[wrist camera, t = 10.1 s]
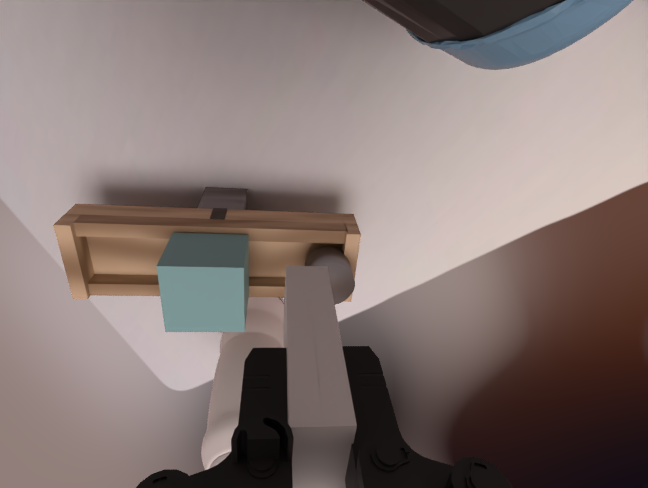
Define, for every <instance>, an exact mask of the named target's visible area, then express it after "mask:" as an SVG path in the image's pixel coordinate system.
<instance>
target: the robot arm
mask: <svg viewBox="0 0 648 488" xmlns="http://www.w3.org/2000/svg"><path fill="white" fill-rule="evenodd" d="M363 1H364V2H366V3H367V4H369V5H370V6H372V7H373V8H375V9H377V10H378V11H380V12H381V13H383V14H384V15H386V16H387V17H389V18H391V19H392V20H394V21H395V22H397V23H398V24H400V25H401V26H403V27H405V28H406V30H407V31H408V33H409V34H410V35H411V36H412V37H413V38H414V39H416V40H417V41H418V42H420V43H421V44H423V45H424V44H426V45H428V46H430V47H431V48H436V49H441V50H443V51H445V52H447V53H448V54H450V55H452V56H454V57H455V58H457V59H459V60H461V61H462V62H464V63H466V64H468V65H471V66H474V67H477V68H482V69H490V70H499V69H509V68H514V67H519V66H522V65H526V64H529V63H532V62H535V61H538V60H540V59H543V58H545V57H548V56H550V55H552V54H554V53H556V52H558V51H560V50H562V49H564V48H566V47H568V46H570V45H571V44H573V43H575V42H577V41H578V40H580V39H582V38H583V37H585V36H587V35H588V34H590V33H591V32H593V31H594V30H596V29H597V28H599V27H600V26H601V25H603V24H604V23H606V22H607V21H608V20H610V19H611V18H612V17H614V16H615V15H616V14H618V13H619V12H620V11H621V10H623V9H624V8H625V7H626V6H627V5H629V4H630V3H631V2H632V1H633V0H363ZM345 486H346V488H513V487H512V485H511V484H510V483H509V481H508V480H507V479H506V477H505V476H504V475H503V474H502V473H501V472H500V471H499V470H498V468H496V467H495V466H494V465H492V464H491V463H489V462H487V461H486V460H483V459H480V458H476V457H465V458H462V459H460V460H459V461H457V462H456V463H455V465H454V466H451V465H448V464H444V463H440V462H437V461H434V460H430V459H428V458H425V457H422V456H421V455H419V454H418V453H416V452H414V451H413V450H412V449H411V448H410V446H408V445H407V444H406V442H405V441H404V439H403V438H402V436H401V434H400V431H399V428H398V425H397V421H396V417H395V414H394V410H393V407H392V403H391V400H390V397H389V393H388V389H387V388H386V382H385V379H384V376H383V372H382V368H381V365H380V361H379V358H378V357H377V356H376V355H375V353H374V352H373V351H372V350H371V348H370V347H369V346H360V347H359V346H348V347H347V346H344V347H343V346H342V343H341V337H340V332H339V327H338V321H337V316H336V310H335V305H334V299H333V294H332V289H331V283H330V278H329V272H328V267H326V266H286V276H285V297H284V319H283V348H253V349H252V350H251V352H250V353H249V355H248V356H247V358H246V359H245V363H244V372H243V382H242V392H241V402H240V412H239V421H238V426H237V427H236V428H235V430H234V433H233V436H232V439H231V452H230V454H229V455H228V456H227V457H226V458H225V459H224V460H223V461H222V462H220V463H219V464H218V465H216V466H214V467H212V468H210V469H207V470H205V471H202V472H199V473H196V474H194V475H191V476H188V474H186V473H183V472H181V471H179V470H162V471H159V472H157V473H154V474H152V475H150V476H149V477H147V478H146V479H145V480H143V481H142V482H140V484H139V485H138V486H137V487H136V488H345Z"/></svg>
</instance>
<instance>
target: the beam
mask: <svg viewBox="0 0 648 488" xmlns="http://www.w3.org/2000/svg"><path fill="white" fill-rule="evenodd" d="M53 226H54V230H55V233H56V237H57V241H58V245H59V248H60V252H61V256H62V259H63V263H64V267H65V271H66V274H67V278H68V282H69V285H70V289H71V293H72V297H73V299H88V298H89V297H90V295H109V296H160V289H159V281H158V274H157V267H156V266H157V264H158V262H159V260H160V258H161V256H162V254H163V252H164V250H165V247H166V245H167V243H168V241H169V239H170V237H171V235H172V233H205V234H238V235H249V297H285V276H286V266H326V267H328V272H329V278H330V283H331V289H332V294H333V299H334V305H335V304H339V303H341V302H343V301H346V302H351V299H352V292H353V290H354V287H355V281H354V278H355V271H356V264H357V258H358V251H359V244H360V237H361V234H360V231H359V228H358V225H357V223H356V220H355V217H354V214H337V213H310V212H283V211H256V210H247V189H236V188H213V187H206V188H205V191H204V193H203V196H202V198H201V200H200V203H199V205H198V207H197V208H175V207H148V206H121V205H94V204H75V205H74V206H73V207H72V208H71V209H70V210H69V211H68V212H67V213H66V214H65V215H64V216H62V217H61V218H60V219H59V220H58V221H57V222H56V223H55V224H54V225H53Z"/></svg>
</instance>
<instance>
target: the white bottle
mask: <svg viewBox="0 0 648 488" xmlns="http://www.w3.org/2000/svg"><path fill="white" fill-rule="evenodd" d="M283 319H284V304H283V303H282V301H281V300H280V299H279V298H278V297H249V298H248V307H247V316H246V325H245V332H223V334H222V338H221V343H220V357H219V360H218V364H217V368H216V372H215V377H214V382H213V387H212V394H211V399H210V405H209V413H208V424H207V425H208V426H207V432H206V433H205V435H204V438H203V442H202V449H201V455H202V461H203V465H204V468H205V470H207V469H210V468H212V467H214V466H216V465H218V464H219V463H220V462H222V461H223V460H224V459H225V458H226V457H227V456H228V455H229V454H230V452H231V439H232V436H233V433H234V430H235V428H236V427H237V426H238V421H239V412H240V402H241V392H242V382H243V372H244V363H245V359H246V358H247V356H248V355H249V353H250V352H251V350H252V349H253V348H283Z"/></svg>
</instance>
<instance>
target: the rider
mask: <svg viewBox="0 0 648 488" xmlns="http://www.w3.org/2000/svg"><path fill="white" fill-rule="evenodd" d="M156 267H157V274H158V281H159V289H160V296H161V303H162V310H163V318H164V325H165V332H245V325H246V316H247V307H248V298H249V235H238V234H205V233H172V235H171V237H170V239H169V241H168V243H167V245H166V247H165V250H164V252H163V254H162V256H161V258H160V260H159V262H158V264H157V266H156Z"/></svg>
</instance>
